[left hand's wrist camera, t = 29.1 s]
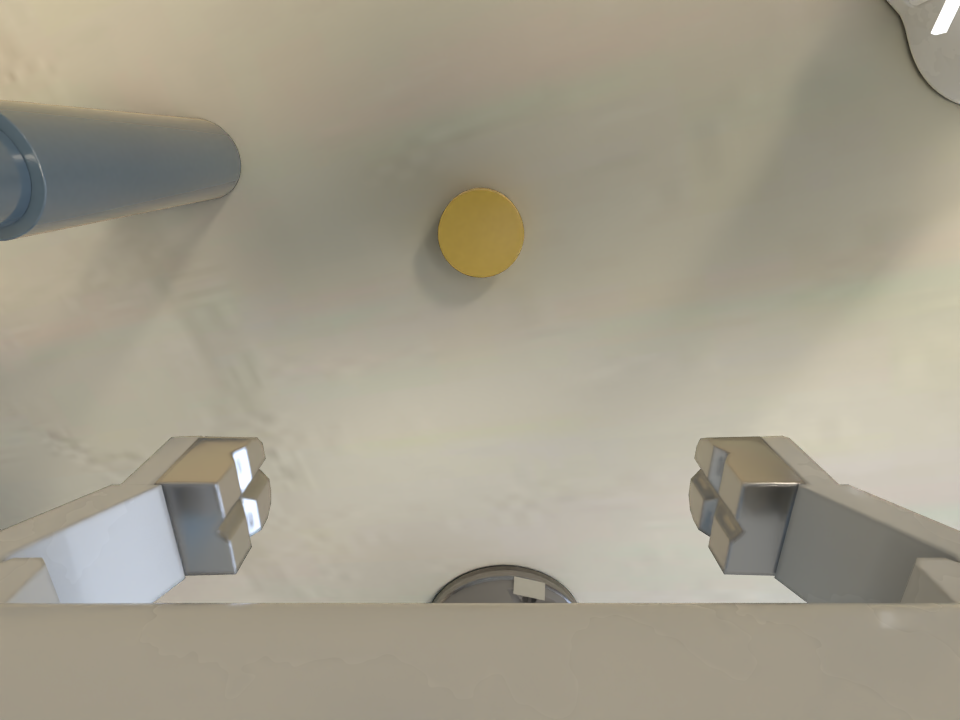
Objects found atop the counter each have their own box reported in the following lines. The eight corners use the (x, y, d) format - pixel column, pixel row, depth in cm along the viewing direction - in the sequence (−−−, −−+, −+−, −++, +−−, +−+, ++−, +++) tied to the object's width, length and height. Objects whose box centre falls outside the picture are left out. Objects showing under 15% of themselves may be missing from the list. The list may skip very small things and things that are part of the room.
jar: (207, 102, 36) (-83, 57, 17) (256, 175, 37) (40, 203, 19) (148, 144, 37) (-187, 143, 18) (198, 213, 38) (-62, 275, 20)
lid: (438, 268, 40) (436, 275, 38) (441, 185, 38) (439, 187, 36) (518, 273, 40) (520, 280, 38) (525, 190, 38) (528, 192, 36)
